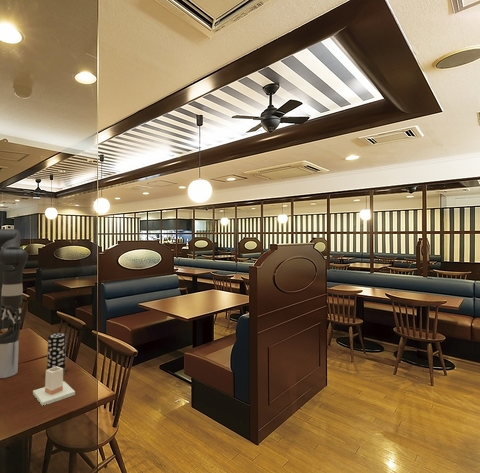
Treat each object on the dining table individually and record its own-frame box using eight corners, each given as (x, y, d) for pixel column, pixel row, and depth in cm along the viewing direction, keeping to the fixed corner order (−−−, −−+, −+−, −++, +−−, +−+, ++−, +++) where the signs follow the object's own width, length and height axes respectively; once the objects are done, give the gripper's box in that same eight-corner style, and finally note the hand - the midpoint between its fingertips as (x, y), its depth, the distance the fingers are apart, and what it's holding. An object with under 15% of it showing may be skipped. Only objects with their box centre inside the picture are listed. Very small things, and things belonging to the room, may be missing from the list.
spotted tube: (44, 377, 152) (45, 338, 152) (49, 370, 160) (51, 333, 160) (62, 376, 155) (63, 337, 155) (67, 369, 163) (68, 332, 163)
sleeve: (45, 392, 136) (45, 370, 136) (56, 387, 141) (56, 366, 141) (51, 395, 134) (52, 372, 134) (62, 390, 138) (63, 368, 138)
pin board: (32, 393, 137) (33, 377, 137) (64, 384, 147) (64, 368, 147) (42, 406, 128) (42, 388, 128) (74, 394, 138) (75, 378, 138)
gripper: (30, 294, 135) (28, 330, 135) (12, 290, 141) (11, 324, 141) (11, 297, 128) (10, 334, 128) (-6, 293, 134) (-8, 329, 134)
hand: (10, 329), depth 134 cm, fingers open, 8 cm apart
